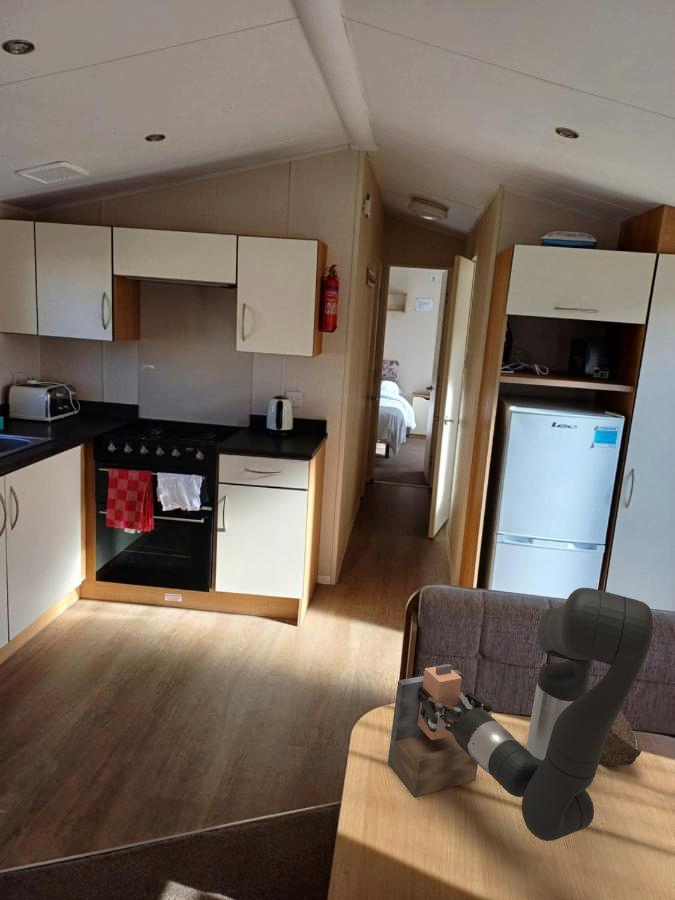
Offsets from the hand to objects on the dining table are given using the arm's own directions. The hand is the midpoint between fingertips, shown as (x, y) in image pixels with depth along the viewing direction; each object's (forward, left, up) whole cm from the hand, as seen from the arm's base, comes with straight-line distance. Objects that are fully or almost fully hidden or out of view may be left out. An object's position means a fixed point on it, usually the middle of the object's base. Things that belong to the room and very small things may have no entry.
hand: (432, 689), depth 127 cm
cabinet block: (-1, +2, -7) cm, 7 cm away
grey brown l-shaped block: (-2, +3, -16) cm, 16 cm away
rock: (-39, -9, -16) cm, 43 cm away
